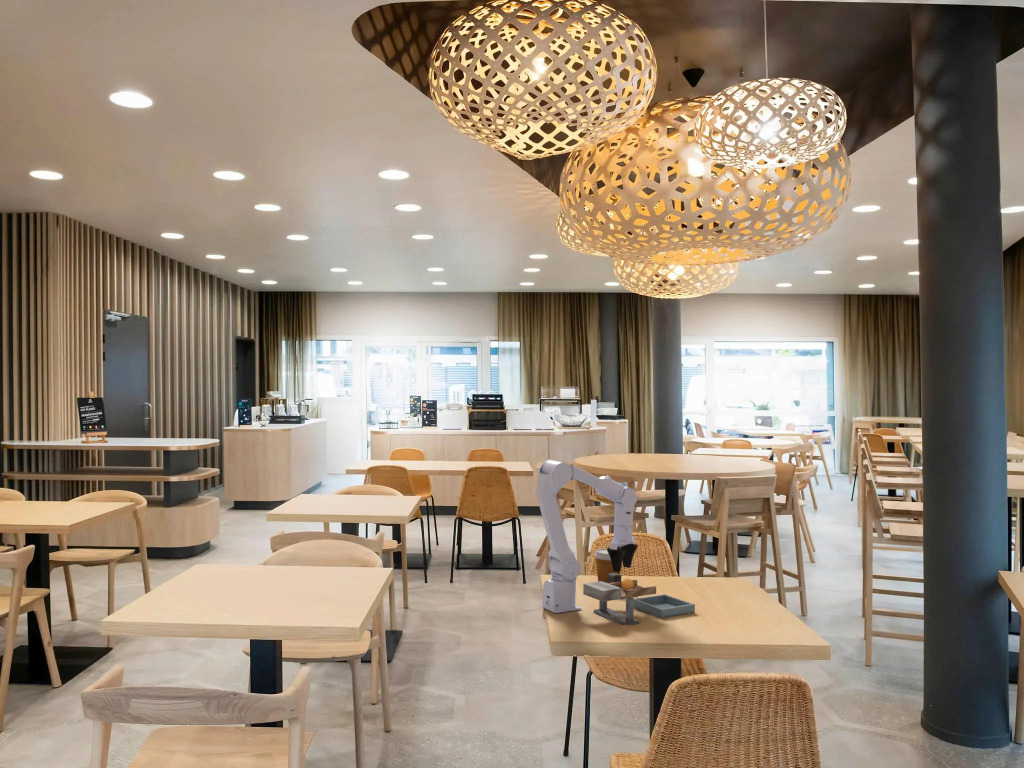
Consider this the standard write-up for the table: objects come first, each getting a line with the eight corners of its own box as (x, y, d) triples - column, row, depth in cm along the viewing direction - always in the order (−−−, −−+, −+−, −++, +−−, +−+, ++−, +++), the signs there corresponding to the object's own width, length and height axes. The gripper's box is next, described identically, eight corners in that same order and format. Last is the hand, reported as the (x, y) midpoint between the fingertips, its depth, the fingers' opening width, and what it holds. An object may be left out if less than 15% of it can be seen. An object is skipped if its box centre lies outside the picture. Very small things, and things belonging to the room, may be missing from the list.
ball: (626, 592, 225) (626, 580, 225) (618, 590, 228) (619, 578, 228) (636, 591, 227) (636, 579, 227) (628, 588, 230) (628, 576, 230)
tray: (661, 618, 226) (661, 609, 226) (632, 607, 237) (632, 599, 237) (694, 612, 233) (694, 604, 233) (664, 602, 244) (664, 594, 244)
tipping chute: (602, 602, 217) (602, 590, 217) (567, 588, 232) (567, 577, 232) (656, 594, 227) (656, 583, 227) (618, 581, 242) (619, 571, 242)
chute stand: (625, 625, 218) (626, 600, 218) (593, 612, 230) (594, 588, 230) (639, 623, 221) (639, 598, 221) (607, 610, 233) (607, 586, 233)
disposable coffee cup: (621, 592, 255) (622, 555, 255) (592, 589, 257) (593, 553, 257) (623, 585, 264) (624, 549, 264) (595, 583, 266) (595, 547, 266)
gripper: (625, 529, 234) (624, 575, 234) (644, 524, 247) (643, 567, 247) (604, 527, 238) (602, 572, 238) (623, 521, 250) (622, 564, 250)
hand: (621, 569), depth 242 cm, fingers open, 7 cm apart
